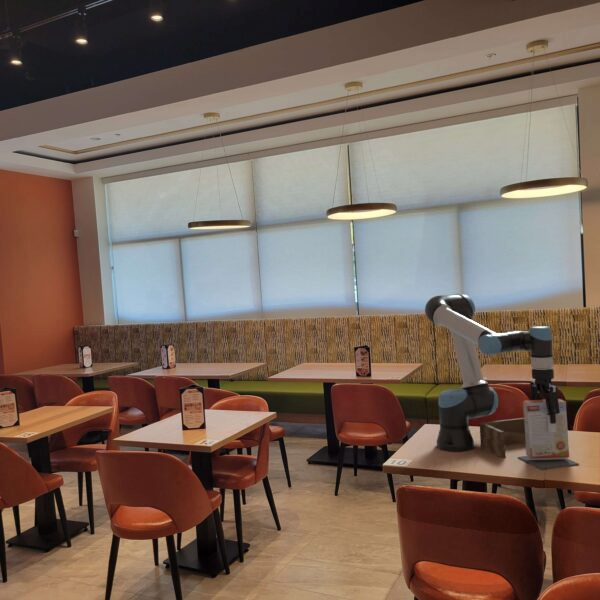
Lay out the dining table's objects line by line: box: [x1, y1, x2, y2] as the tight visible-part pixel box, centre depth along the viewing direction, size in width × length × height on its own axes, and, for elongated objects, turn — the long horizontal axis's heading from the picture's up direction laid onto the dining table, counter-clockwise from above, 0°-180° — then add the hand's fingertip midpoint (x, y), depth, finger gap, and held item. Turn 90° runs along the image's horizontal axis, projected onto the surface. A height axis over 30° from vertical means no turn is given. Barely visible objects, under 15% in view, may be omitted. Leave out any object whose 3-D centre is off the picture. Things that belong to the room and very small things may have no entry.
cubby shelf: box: [479, 417, 526, 459], centre depth 232 cm, size 17×28×10 cm, turn 100°
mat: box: [517, 455, 580, 471], centre depth 214 cm, size 15×15×1 cm
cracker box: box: [522, 398, 570, 459], centre depth 214 cm, size 14×6×21 cm, turn 84°
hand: (545, 429), depth 214 cm, fingers closed on cracker box, 7 cm apart
